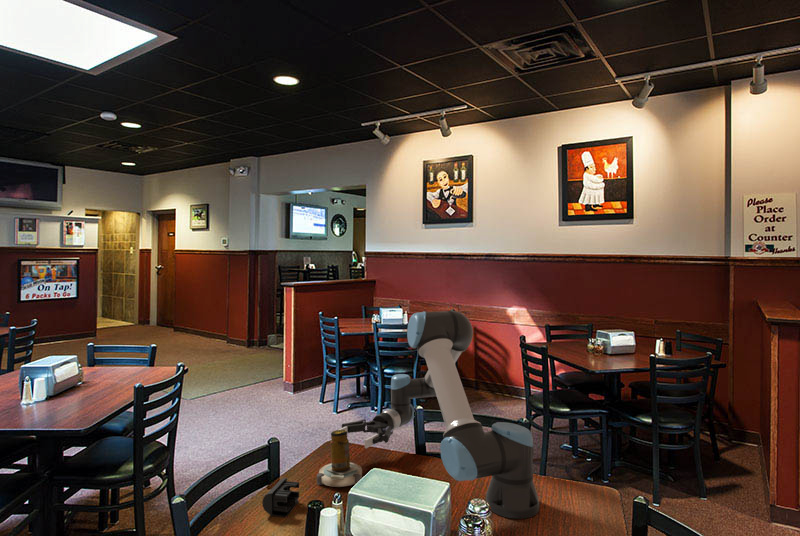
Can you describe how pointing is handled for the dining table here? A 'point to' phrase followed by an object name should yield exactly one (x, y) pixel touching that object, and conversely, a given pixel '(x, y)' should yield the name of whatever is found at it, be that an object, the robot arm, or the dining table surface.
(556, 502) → the dining table surface
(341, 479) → the base
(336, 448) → the condiment
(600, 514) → the dining table surface
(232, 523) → the dining table surface
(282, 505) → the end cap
